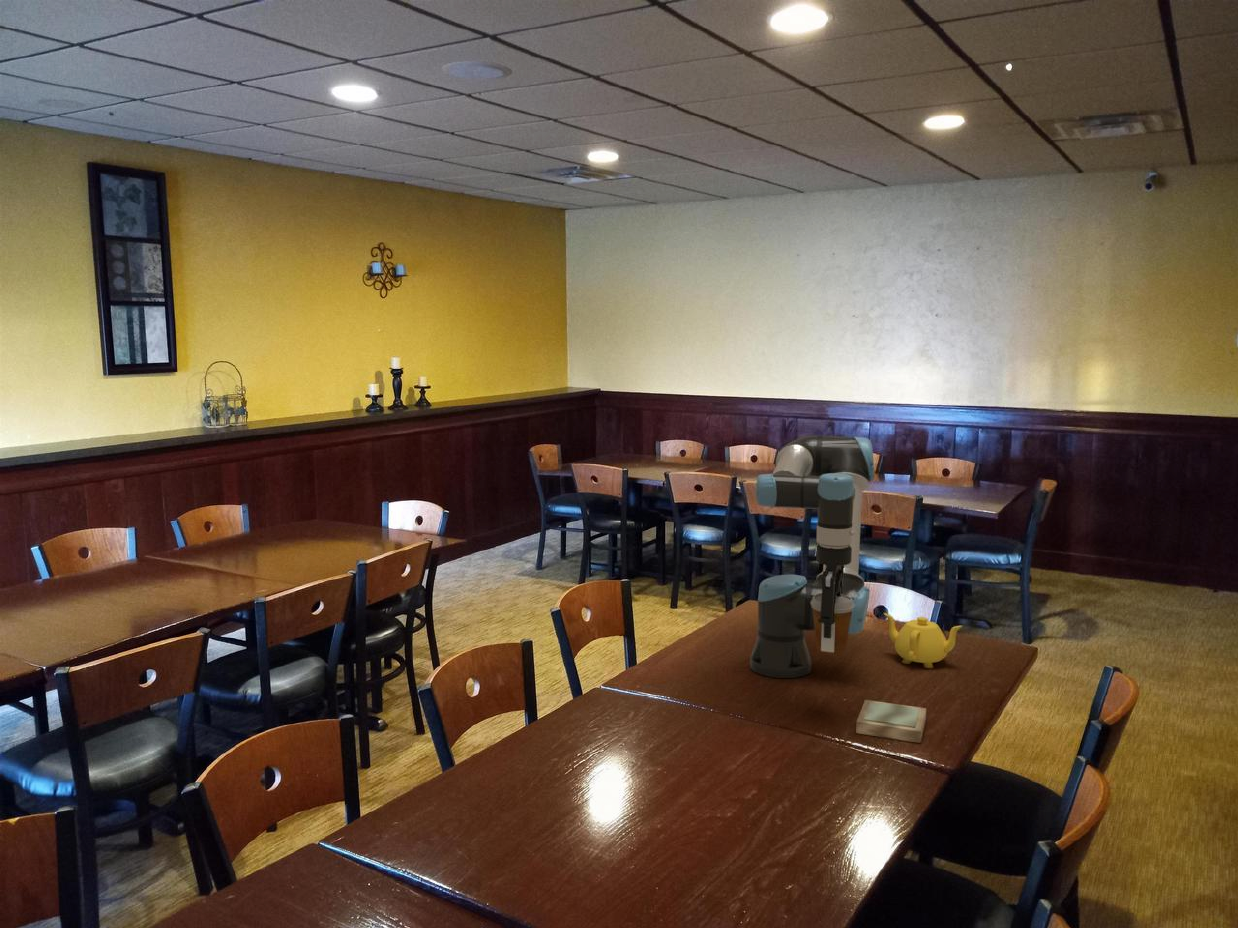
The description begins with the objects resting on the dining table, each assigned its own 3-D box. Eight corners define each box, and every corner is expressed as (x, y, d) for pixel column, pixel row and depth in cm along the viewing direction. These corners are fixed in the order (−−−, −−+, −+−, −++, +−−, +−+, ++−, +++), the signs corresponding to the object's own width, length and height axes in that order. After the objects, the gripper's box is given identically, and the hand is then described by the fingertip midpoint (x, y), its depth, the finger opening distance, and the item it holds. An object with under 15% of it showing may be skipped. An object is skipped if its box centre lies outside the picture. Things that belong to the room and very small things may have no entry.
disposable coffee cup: (853, 659, 202) (855, 605, 200) (809, 656, 204) (810, 603, 202) (852, 644, 211) (853, 593, 210) (809, 642, 213) (810, 591, 212)
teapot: (871, 662, 239) (873, 619, 238) (890, 647, 252) (891, 605, 250) (951, 678, 228) (954, 633, 227) (967, 661, 241) (969, 618, 239)
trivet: (856, 732, 197) (856, 720, 197) (864, 710, 209) (865, 698, 208) (920, 742, 192) (921, 729, 192) (925, 719, 204) (926, 707, 204)
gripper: (843, 556, 193) (840, 662, 197) (858, 536, 213) (855, 633, 216) (807, 553, 196) (804, 657, 199) (825, 533, 215) (822, 629, 219)
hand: (831, 644), depth 208 cm, fingers closed on disposable coffee cup, 8 cm apart
